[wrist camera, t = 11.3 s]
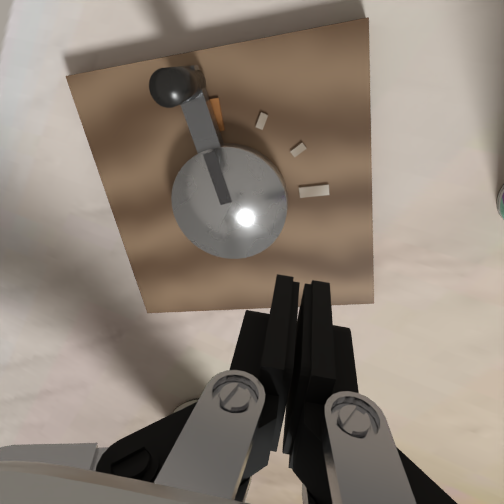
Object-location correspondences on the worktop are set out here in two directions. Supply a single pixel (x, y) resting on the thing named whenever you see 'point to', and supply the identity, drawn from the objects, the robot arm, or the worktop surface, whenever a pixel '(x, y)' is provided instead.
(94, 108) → the board
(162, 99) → the dial
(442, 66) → the worktop surface
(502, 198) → the spray can
